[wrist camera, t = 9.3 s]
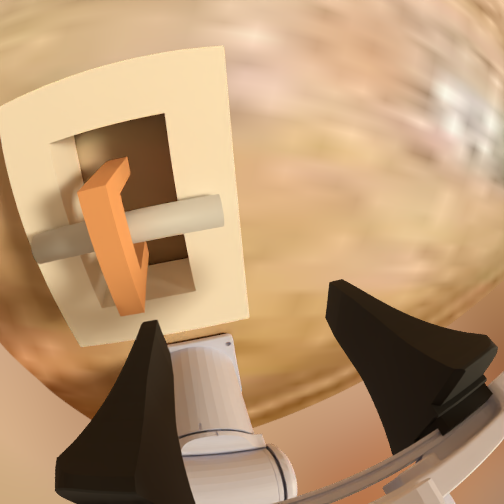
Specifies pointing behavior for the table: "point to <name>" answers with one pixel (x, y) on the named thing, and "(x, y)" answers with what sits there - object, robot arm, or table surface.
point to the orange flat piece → (115, 237)
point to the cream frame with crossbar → (139, 220)
